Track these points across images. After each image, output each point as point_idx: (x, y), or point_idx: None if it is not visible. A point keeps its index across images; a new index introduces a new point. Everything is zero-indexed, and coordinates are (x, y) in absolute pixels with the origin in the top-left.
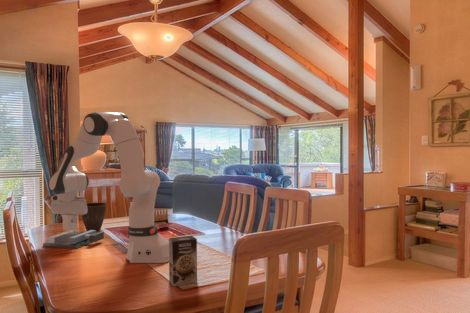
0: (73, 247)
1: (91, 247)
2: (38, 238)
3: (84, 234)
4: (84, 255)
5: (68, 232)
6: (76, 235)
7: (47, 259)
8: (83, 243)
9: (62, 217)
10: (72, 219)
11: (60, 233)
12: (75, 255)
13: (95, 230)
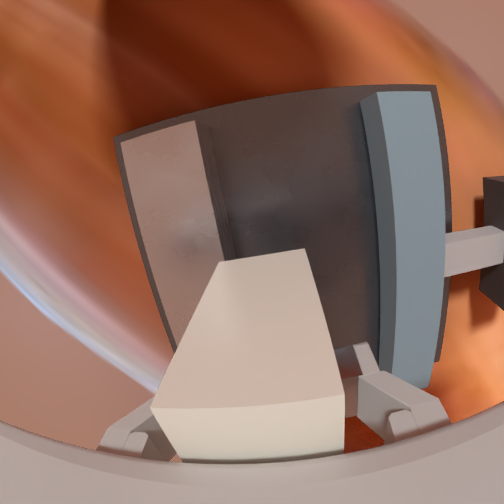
0: None
1: (490, 301)
2: (11, 259)
3: (443, 276)
4: (499, 387)
5: (208, 256)
6: (402, 332)
7: None
8: (446, 306)
9: (166, 452)
10: (346, 409)
11: (172, 311)
12: (470, 404)
13: (431, 100)
